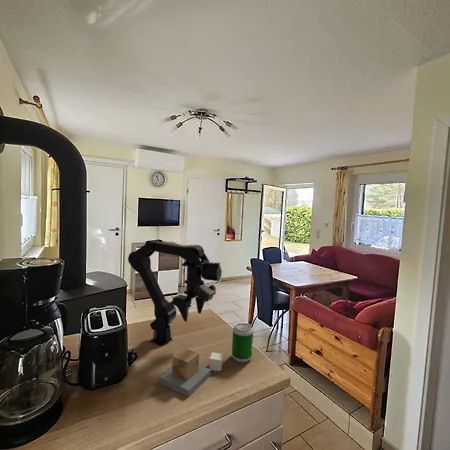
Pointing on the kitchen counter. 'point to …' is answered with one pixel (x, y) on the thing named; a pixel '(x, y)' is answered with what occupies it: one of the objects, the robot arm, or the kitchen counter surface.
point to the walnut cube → (185, 364)
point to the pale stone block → (216, 361)
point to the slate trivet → (182, 385)
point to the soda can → (242, 342)
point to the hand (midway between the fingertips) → (192, 317)
